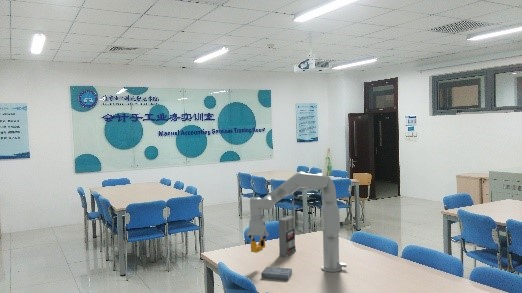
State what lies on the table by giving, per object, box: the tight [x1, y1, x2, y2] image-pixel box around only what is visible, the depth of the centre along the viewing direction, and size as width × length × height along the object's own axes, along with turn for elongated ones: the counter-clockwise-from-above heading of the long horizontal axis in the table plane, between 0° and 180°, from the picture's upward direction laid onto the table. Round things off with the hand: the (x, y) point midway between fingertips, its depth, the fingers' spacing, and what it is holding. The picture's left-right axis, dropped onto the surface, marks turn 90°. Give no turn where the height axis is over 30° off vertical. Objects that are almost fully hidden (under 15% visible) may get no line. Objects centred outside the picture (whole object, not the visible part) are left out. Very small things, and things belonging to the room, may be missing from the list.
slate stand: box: [261, 266, 293, 281], centre depth 241 cm, size 16×11×3 cm
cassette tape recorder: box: [278, 215, 297, 257], centre depth 283 cm, size 14×6×25 cm, turn 148°
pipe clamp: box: [250, 236, 266, 254], centre depth 255 cm, size 12×4×6 cm, turn 145°
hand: (258, 245), depth 255 cm, fingers closed on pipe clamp, 4 cm apart
